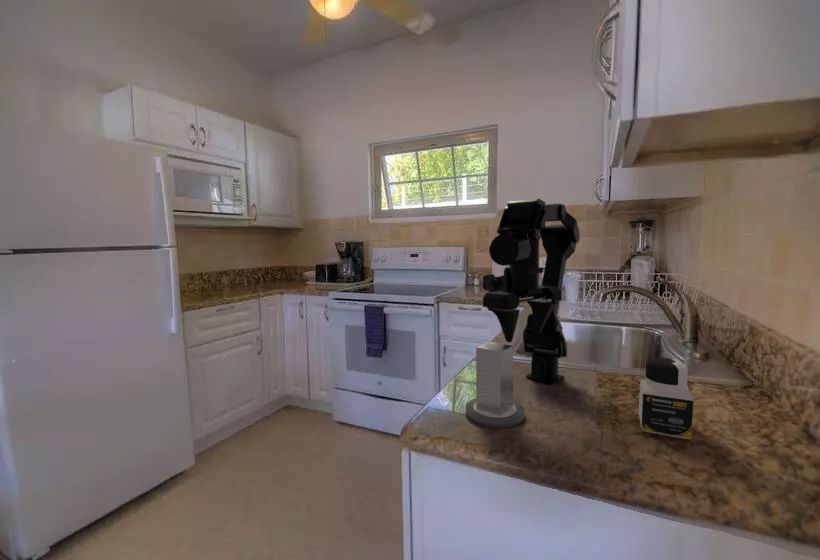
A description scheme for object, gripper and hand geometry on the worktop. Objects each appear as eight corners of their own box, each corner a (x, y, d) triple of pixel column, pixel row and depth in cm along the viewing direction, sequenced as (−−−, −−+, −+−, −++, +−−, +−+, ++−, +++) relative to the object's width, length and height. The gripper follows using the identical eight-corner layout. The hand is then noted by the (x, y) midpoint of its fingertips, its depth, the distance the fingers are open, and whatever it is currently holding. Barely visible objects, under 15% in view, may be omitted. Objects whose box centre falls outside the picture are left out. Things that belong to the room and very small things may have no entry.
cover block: (489, 400, 77) (489, 341, 76) (512, 406, 74) (513, 345, 73) (476, 408, 73) (476, 347, 72) (500, 416, 70) (500, 352, 69)
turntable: (491, 397, 81) (491, 391, 81) (536, 415, 73) (536, 409, 72) (453, 412, 75) (453, 405, 75) (498, 434, 66) (498, 427, 66)
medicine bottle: (641, 431, 66) (643, 363, 65) (638, 414, 72) (641, 352, 71) (691, 440, 63) (695, 369, 62) (684, 422, 69) (688, 357, 68)
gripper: (520, 259, 90) (519, 325, 91) (462, 263, 78) (463, 338, 80) (563, 261, 81) (562, 333, 82) (506, 265, 70) (505, 349, 71)
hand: (523, 338), depth 79 cm, fingers open, 9 cm apart
